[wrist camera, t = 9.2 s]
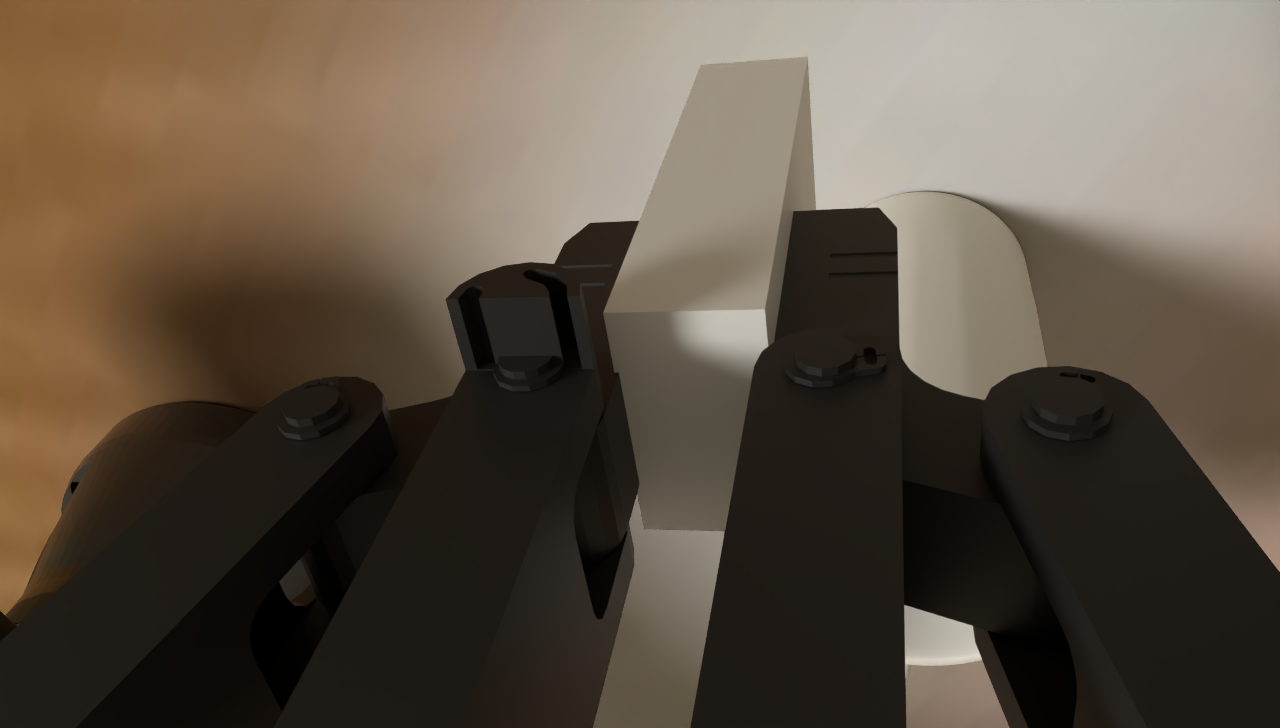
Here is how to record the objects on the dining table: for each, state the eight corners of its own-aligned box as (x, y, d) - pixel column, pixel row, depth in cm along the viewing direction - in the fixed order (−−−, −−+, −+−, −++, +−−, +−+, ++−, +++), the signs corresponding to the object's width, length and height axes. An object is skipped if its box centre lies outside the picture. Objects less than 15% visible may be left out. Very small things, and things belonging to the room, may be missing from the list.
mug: (820, 169, 31) (775, 425, 22) (1059, 191, 30) (1120, 470, 21) (792, 431, 37) (748, 721, 28) (991, 457, 36) (1014, 769, 27)
